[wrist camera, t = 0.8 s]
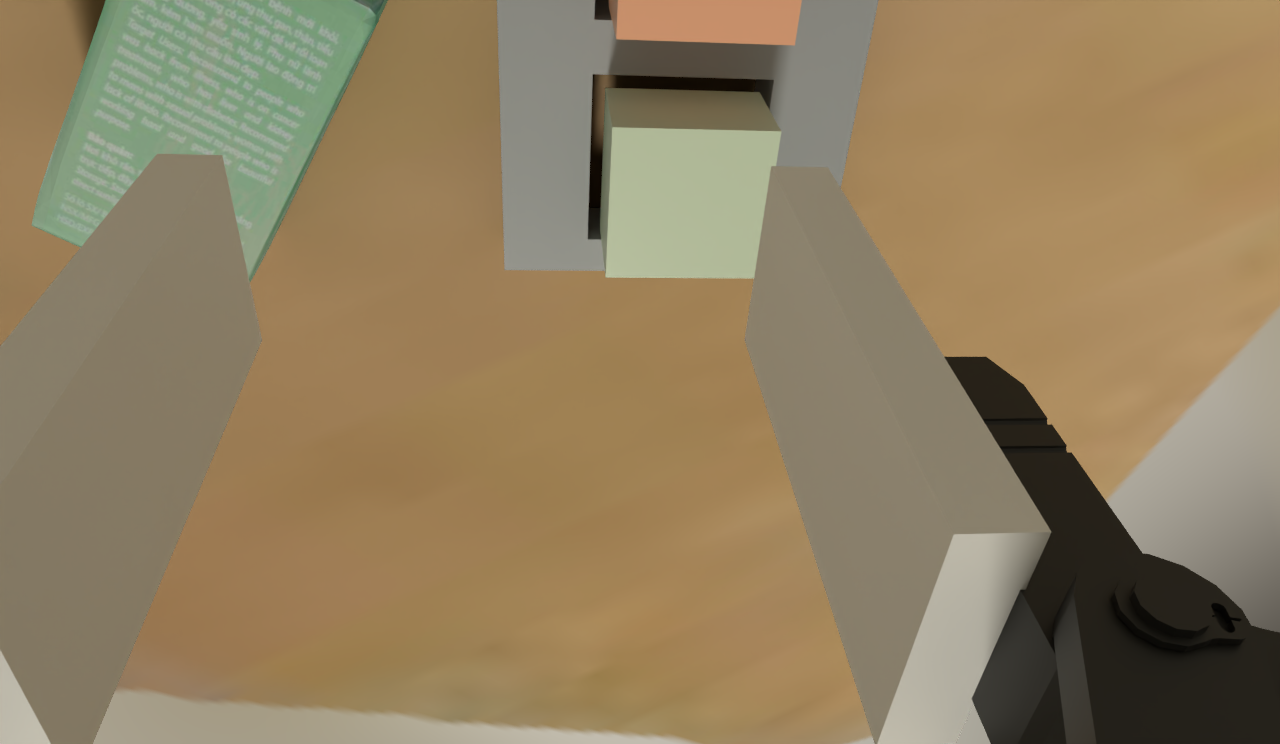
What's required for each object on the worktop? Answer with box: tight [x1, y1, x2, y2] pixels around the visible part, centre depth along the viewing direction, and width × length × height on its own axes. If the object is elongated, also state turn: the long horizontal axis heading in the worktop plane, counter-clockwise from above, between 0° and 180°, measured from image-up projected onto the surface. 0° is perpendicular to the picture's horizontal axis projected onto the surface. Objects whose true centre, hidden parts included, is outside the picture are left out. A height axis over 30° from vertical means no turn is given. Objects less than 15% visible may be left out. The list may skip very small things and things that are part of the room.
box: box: [32, 0, 388, 282], centre depth 34 cm, size 7×14×8 cm, turn 146°
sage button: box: [600, 88, 781, 278], centre depth 36 cm, size 6×6×4 cm
